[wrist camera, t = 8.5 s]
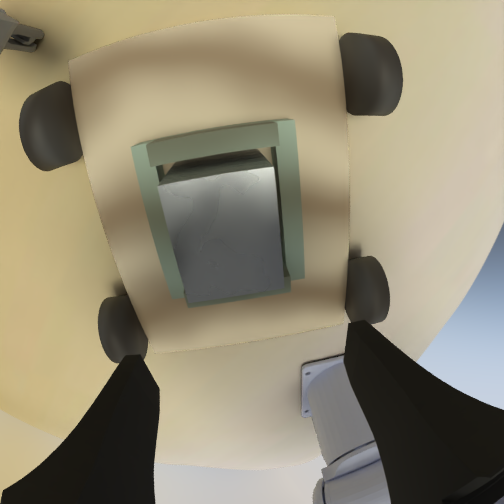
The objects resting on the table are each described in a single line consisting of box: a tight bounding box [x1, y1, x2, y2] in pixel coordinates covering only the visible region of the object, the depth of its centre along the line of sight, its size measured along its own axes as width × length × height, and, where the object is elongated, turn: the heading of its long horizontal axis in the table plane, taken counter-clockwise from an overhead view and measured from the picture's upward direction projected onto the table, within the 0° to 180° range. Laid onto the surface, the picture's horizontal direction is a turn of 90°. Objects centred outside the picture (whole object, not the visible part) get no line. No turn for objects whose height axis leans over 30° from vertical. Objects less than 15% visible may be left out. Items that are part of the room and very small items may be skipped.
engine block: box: [157, 149, 285, 303], centre depth 13 cm, size 5×4×5 cm
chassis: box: [19, 14, 403, 363], centre depth 14 cm, size 20×17×4 cm
